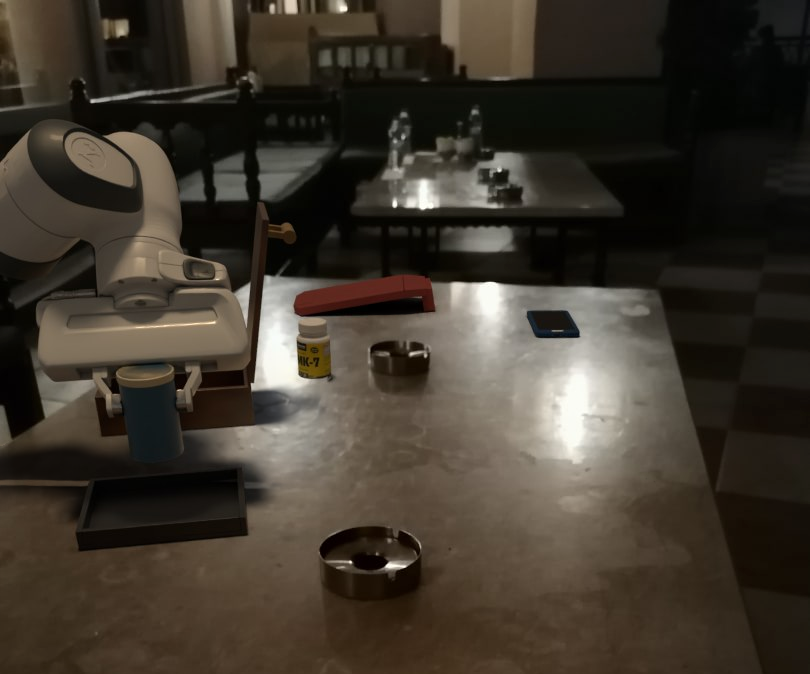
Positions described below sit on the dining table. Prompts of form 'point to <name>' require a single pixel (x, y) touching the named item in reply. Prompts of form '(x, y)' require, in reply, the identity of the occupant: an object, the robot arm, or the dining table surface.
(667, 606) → the dining table surface
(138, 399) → the canister
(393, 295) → the red ramp
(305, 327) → the supplement bottle
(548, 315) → the cell phone
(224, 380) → the chest
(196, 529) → the tray
